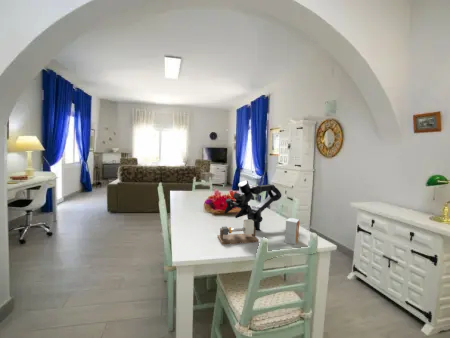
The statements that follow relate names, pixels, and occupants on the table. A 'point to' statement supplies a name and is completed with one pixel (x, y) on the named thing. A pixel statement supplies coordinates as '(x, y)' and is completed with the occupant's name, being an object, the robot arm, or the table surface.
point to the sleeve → (248, 226)
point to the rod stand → (236, 236)
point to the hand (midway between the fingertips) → (229, 215)
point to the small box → (292, 231)
